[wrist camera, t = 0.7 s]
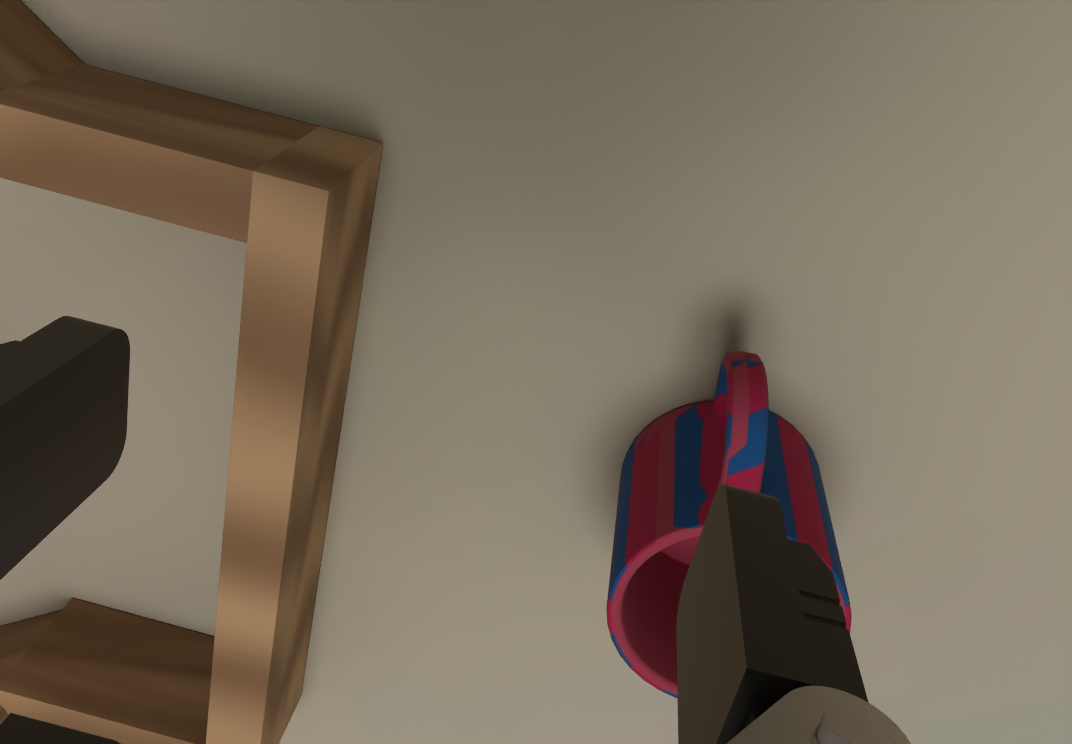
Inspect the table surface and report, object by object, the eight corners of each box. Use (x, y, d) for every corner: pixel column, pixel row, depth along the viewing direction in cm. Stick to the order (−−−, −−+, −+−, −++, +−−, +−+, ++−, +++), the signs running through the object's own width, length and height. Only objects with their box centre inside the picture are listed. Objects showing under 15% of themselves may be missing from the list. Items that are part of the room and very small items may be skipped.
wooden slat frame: (-74, -71, 28) (-217, -61, 23) (396, 52, 27) (342, 85, 23) (-17, 653, 42) (-100, 744, 37) (294, 738, 41) (248, 841, 37)
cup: (606, 544, 34) (590, 684, 28) (657, 290, 30) (650, 394, 24) (792, 578, 34) (815, 728, 28) (873, 326, 29) (922, 442, 23)
